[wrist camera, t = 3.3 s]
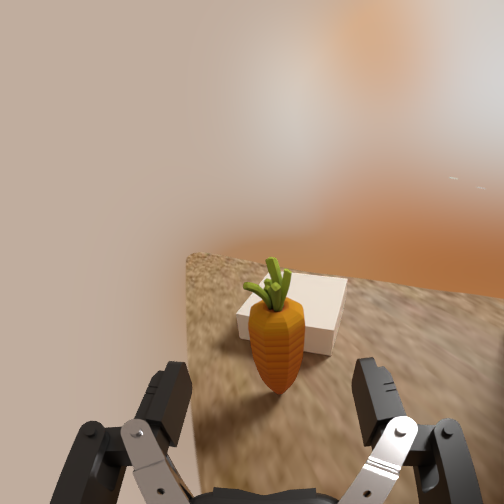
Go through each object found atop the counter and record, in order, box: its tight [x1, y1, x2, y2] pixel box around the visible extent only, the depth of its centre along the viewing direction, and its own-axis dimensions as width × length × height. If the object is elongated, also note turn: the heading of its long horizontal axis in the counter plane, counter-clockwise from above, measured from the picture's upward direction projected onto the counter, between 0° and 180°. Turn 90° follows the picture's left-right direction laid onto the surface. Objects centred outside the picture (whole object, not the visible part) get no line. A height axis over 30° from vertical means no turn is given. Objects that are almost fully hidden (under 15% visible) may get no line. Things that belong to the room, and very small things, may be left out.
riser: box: [236, 271, 347, 356], centre depth 38 cm, size 12×12×4 cm
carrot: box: [243, 257, 305, 394], centre depth 24 cm, size 5×5×15 cm
